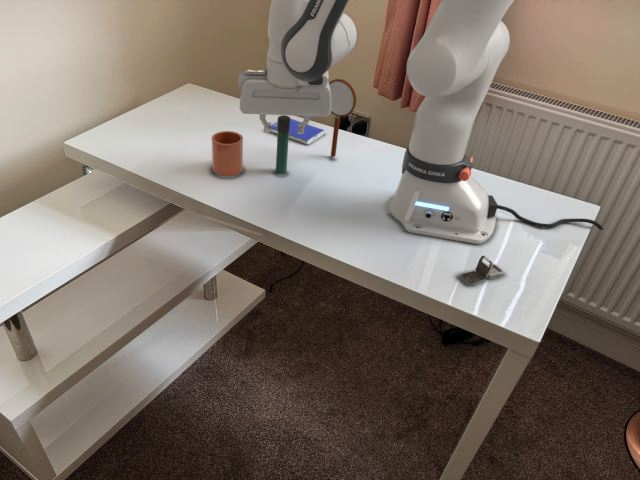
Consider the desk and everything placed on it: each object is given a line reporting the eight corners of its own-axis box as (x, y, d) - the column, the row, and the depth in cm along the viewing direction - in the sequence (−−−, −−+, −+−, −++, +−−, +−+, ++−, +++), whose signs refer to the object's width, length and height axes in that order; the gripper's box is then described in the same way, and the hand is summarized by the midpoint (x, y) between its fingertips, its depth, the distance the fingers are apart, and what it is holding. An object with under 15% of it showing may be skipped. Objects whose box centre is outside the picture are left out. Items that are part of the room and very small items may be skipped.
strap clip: (493, 266, 112) (499, 248, 109) (504, 275, 110) (511, 257, 107) (458, 277, 109) (463, 259, 106) (468, 286, 107) (474, 268, 104)
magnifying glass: (349, 163, 142) (360, 83, 130) (345, 166, 141) (356, 85, 128) (320, 152, 147) (328, 73, 134) (316, 154, 146) (324, 75, 133)
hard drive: (269, 126, 154) (307, 139, 149) (286, 116, 159) (324, 129, 154) (268, 131, 155) (307, 145, 150) (286, 121, 160) (323, 134, 155)
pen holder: (247, 167, 140) (248, 135, 134) (233, 181, 135) (233, 147, 129) (222, 160, 142) (221, 128, 137) (207, 173, 137) (205, 140, 132)
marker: (288, 172, 138) (292, 116, 129) (283, 177, 136) (287, 121, 127) (278, 169, 139) (281, 114, 130) (273, 174, 137) (275, 118, 128)
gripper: (237, 74, 120) (237, 136, 129) (335, 78, 119) (328, 140, 128) (239, 64, 125) (239, 124, 134) (333, 67, 124) (327, 127, 133)
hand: (283, 132), depth 131 cm, fingers open, 6 cm apart
